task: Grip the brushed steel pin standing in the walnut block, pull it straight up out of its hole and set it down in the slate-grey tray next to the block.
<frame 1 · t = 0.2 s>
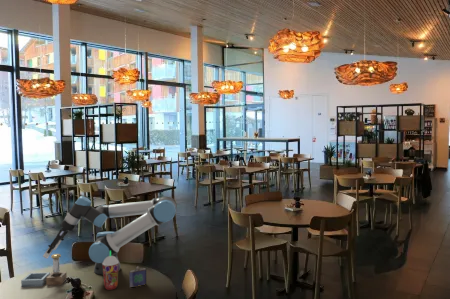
hand: (49, 253, 215), 15 cm above the table, tool tilted 35°, fingers open, 13 cm apart
flask: (138, 286, 207), on the table
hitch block: (56, 281, 213), on the table
pin: (56, 268, 213), in the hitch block
tray: (36, 282, 212), on the table
smoothie: (111, 288, 205), on the table
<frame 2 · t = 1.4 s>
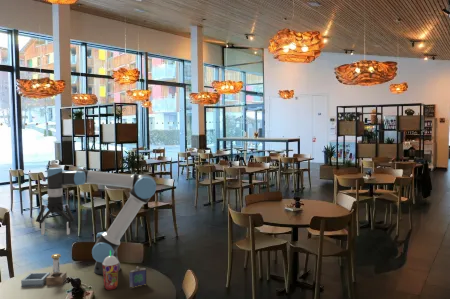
hand: (55, 234, 212), 27 cm above the table, tool pointing down, fingers open, 13 cm apart
nothing on the table moved.
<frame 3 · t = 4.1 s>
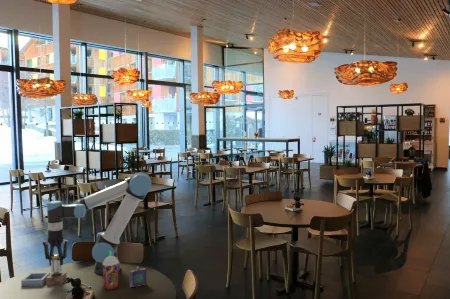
hand: (56, 271, 213), 6 cm above the table, tool pointing down, fingers closed on pin, 3 cm apart
pin: (56, 268, 213), in the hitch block, touching gripper
everything else where it was.
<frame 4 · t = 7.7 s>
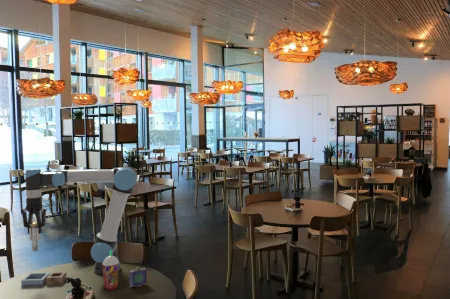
hand: (34, 239, 211), 24 cm above the table, tool pointing down, fingers closed on pin, 3 cm apart
pin: (34, 236, 211), point 26 cm above the table, touching gripper
everything else where it was.
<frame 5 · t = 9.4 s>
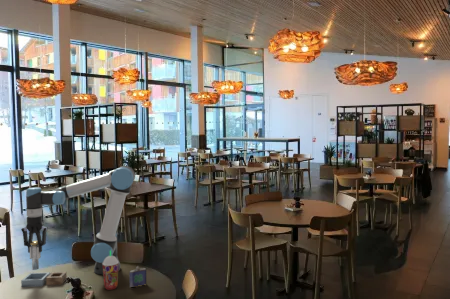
hand: (35, 258, 212), 14 cm above the table, tool pointing down, fingers closed on pin, 3 cm apart
pin: (35, 255, 212), point 15 cm above the table, touching gripper
everything else where it was.
when the fingers open (9 cm above the table, at t = 11.1 s): pin drops 2 cm, resting on tray.
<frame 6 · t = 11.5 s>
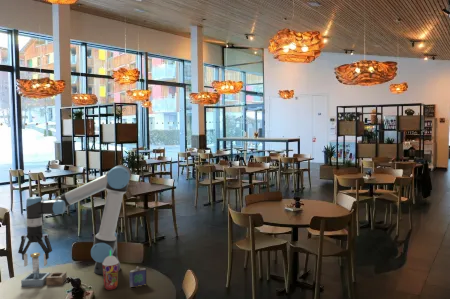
hand: (35, 265, 212), 10 cm above the table, tool pointing down, fingers open, 10 cm apart
pin: (35, 267, 212), in the tray, point 8 cm above the table
everything else where it was.
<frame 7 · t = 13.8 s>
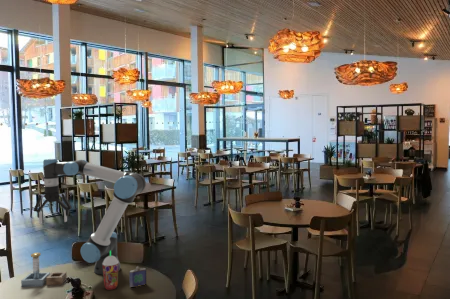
hand: (53, 222, 221), 31 cm above the table, tool pointing down, fingers open, 13 cm apart
nothing on the table moved.
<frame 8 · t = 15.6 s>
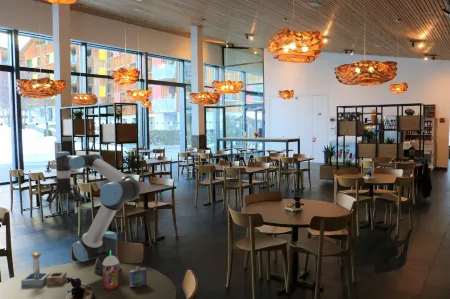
hand: (64, 213, 229), 35 cm above the table, tool pointing down, fingers open, 13 cm apart
nothing on the table moved.
at the end: pin inside the target area on the tray (0.3 cm from its centre), point 8.5 cm above the tray's base; the gripper is holding nothing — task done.
